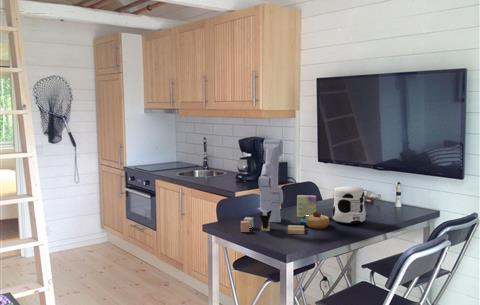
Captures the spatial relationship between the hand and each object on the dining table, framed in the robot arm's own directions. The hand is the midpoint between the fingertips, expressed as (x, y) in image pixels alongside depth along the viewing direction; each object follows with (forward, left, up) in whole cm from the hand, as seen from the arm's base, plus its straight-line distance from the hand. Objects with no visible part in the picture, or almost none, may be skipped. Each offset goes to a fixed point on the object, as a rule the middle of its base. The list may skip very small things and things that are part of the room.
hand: (265, 226), depth 221 cm
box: (-30, +21, -2) cm, 37 cm away
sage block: (-3, -9, -2) cm, 10 cm away
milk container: (-19, +43, -2) cm, 47 cm away
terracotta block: (+4, -10, -2) cm, 11 cm away
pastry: (-9, +26, -2) cm, 28 cm away
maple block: (0, 0, -2) cm, 2 cm away
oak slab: (+2, +15, -2) cm, 15 cm away
